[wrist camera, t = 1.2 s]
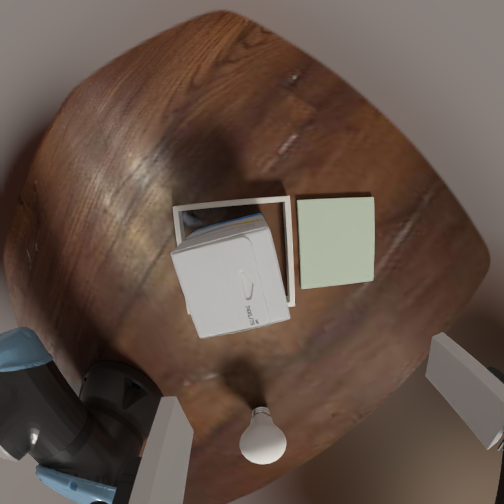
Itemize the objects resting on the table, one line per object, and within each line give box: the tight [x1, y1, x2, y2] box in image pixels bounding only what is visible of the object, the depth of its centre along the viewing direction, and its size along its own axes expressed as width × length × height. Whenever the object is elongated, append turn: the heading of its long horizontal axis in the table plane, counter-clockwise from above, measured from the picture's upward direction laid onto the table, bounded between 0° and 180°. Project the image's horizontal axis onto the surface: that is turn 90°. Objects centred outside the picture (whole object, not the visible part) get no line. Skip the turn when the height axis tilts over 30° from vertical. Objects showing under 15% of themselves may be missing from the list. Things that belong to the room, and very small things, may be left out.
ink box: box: [171, 213, 290, 338], centre depth 28 cm, size 9×8×12 cm
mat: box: [297, 197, 375, 289], centre depth 33 cm, size 10×11×1 cm
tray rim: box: [173, 196, 295, 314], centre depth 33 cm, size 13×13×2 cm
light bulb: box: [240, 407, 286, 464], centre depth 34 cm, size 7×7×11 cm
